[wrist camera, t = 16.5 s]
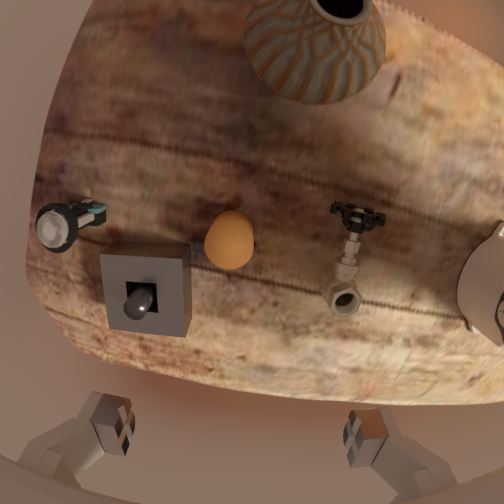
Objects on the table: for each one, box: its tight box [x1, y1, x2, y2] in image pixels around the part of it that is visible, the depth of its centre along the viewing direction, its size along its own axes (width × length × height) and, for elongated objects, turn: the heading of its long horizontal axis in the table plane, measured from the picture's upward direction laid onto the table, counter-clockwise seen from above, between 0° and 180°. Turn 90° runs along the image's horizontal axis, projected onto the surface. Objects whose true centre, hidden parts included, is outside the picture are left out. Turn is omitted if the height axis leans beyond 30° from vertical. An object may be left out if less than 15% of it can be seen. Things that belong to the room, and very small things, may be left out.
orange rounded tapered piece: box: [204, 210, 254, 269], centre depth 36 cm, size 5×5×6 cm
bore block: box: [99, 241, 192, 337], centre depth 38 cm, size 10×10×5 cm
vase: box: [244, 0, 386, 106], centre depth 23 cm, size 13×13×18 cm
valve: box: [320, 201, 386, 317], centre depth 36 cm, size 7×7×12 cm
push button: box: [36, 199, 106, 253], centre depth 33 cm, size 7×5×10 cm
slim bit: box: [123, 282, 157, 320], centre depth 37 cm, size 3×3×8 cm
